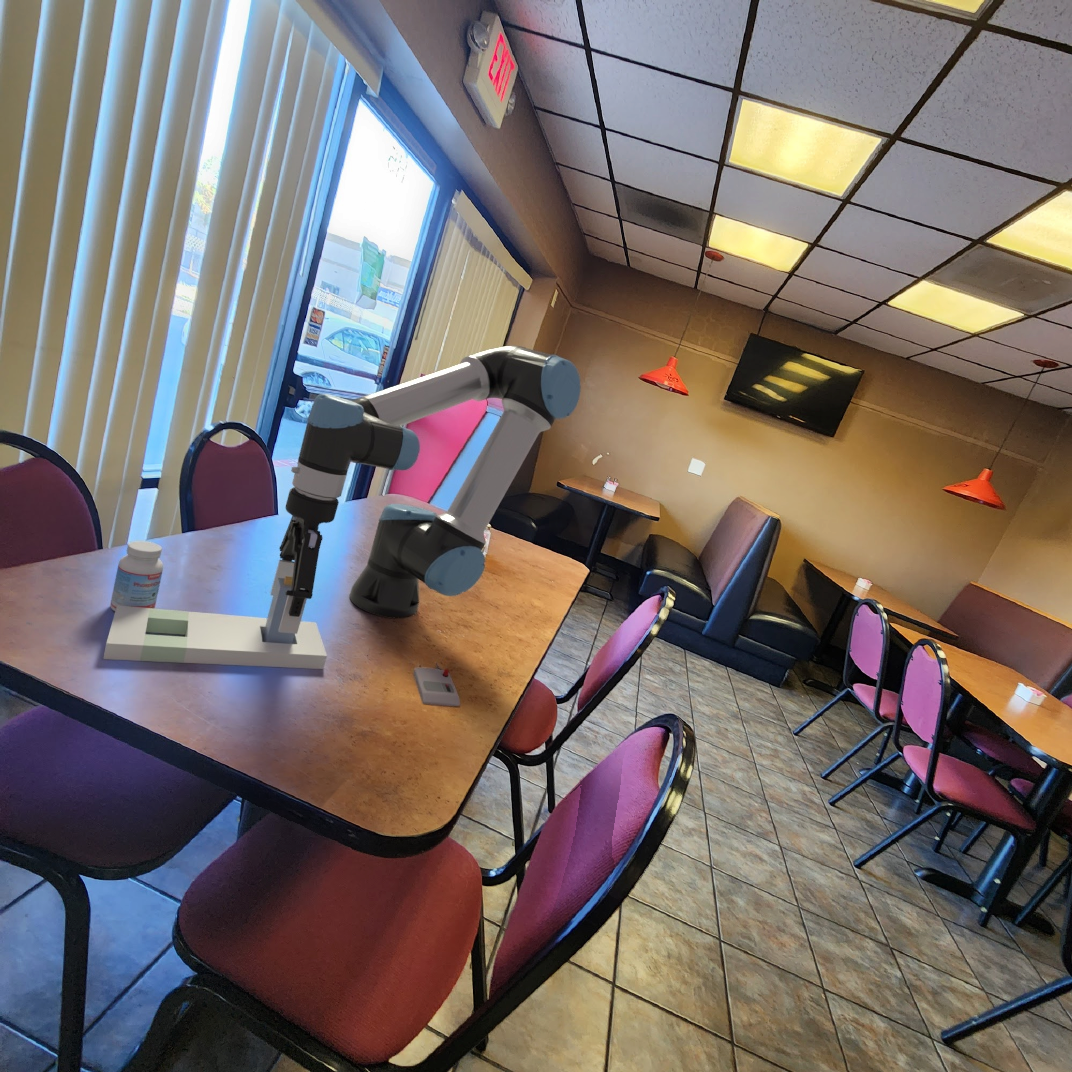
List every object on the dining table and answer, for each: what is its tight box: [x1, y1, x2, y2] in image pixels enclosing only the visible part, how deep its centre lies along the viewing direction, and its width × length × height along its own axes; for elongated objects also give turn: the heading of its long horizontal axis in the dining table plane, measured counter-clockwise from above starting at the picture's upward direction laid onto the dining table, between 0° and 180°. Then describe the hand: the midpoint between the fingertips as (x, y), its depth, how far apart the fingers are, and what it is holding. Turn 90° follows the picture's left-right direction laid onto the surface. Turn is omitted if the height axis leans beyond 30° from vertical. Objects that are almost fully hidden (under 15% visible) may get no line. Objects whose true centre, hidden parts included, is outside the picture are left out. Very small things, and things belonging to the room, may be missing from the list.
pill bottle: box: [109, 540, 164, 612], centre depth 94 cm, size 6×6×11 cm
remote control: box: [412, 662, 461, 707], centre depth 104 cm, size 7×16×3 cm, turn 21°
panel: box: [103, 605, 328, 670], centre depth 94 cm, size 30×12×2 cm, turn 119°
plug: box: [262, 576, 295, 644], centre depth 97 cm, size 4×4×13 cm
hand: (283, 612), depth 97 cm, fingers open, 13 cm apart
